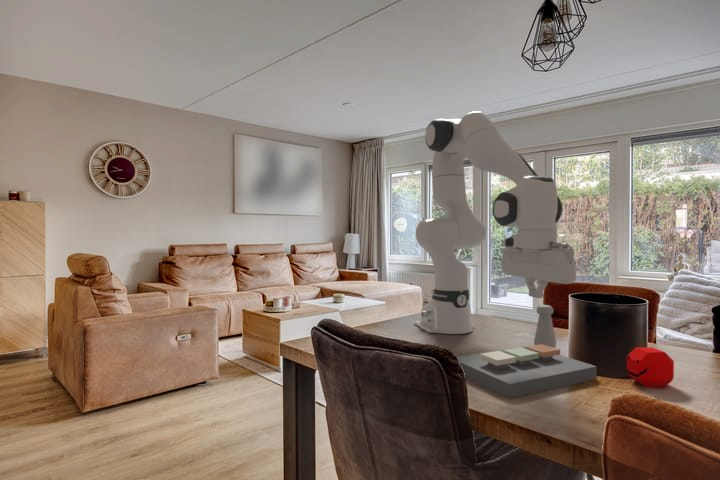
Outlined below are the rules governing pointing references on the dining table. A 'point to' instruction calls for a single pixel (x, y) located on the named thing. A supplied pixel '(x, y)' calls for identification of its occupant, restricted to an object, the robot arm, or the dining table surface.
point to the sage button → (522, 355)
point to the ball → (650, 367)
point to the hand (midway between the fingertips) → (535, 297)
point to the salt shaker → (545, 327)
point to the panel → (527, 374)
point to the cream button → (498, 359)
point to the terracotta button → (544, 351)
